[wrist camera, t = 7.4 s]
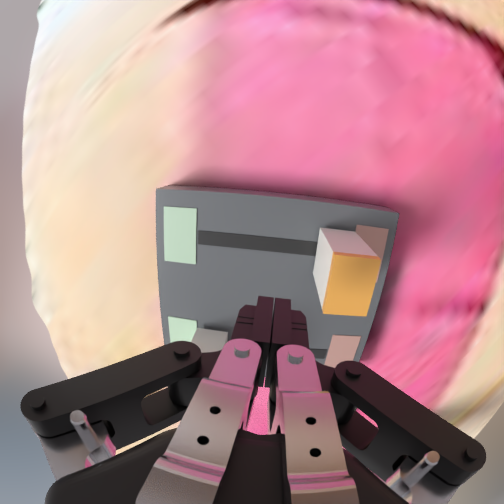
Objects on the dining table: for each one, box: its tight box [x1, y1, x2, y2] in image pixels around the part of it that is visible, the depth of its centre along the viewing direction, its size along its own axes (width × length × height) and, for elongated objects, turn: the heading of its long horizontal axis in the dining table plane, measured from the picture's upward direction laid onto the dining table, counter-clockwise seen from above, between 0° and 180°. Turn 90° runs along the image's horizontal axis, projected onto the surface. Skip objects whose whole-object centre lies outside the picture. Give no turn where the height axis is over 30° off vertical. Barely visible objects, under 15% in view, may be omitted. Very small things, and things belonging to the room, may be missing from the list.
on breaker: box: [191, 328, 228, 353], centre depth 24 cm, size 3×4×7 cm
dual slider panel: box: [156, 185, 399, 377], centre depth 27 cm, size 21×19×3 cm
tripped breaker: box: [313, 227, 381, 316], centre depth 20 cm, size 3×4×7 cm
